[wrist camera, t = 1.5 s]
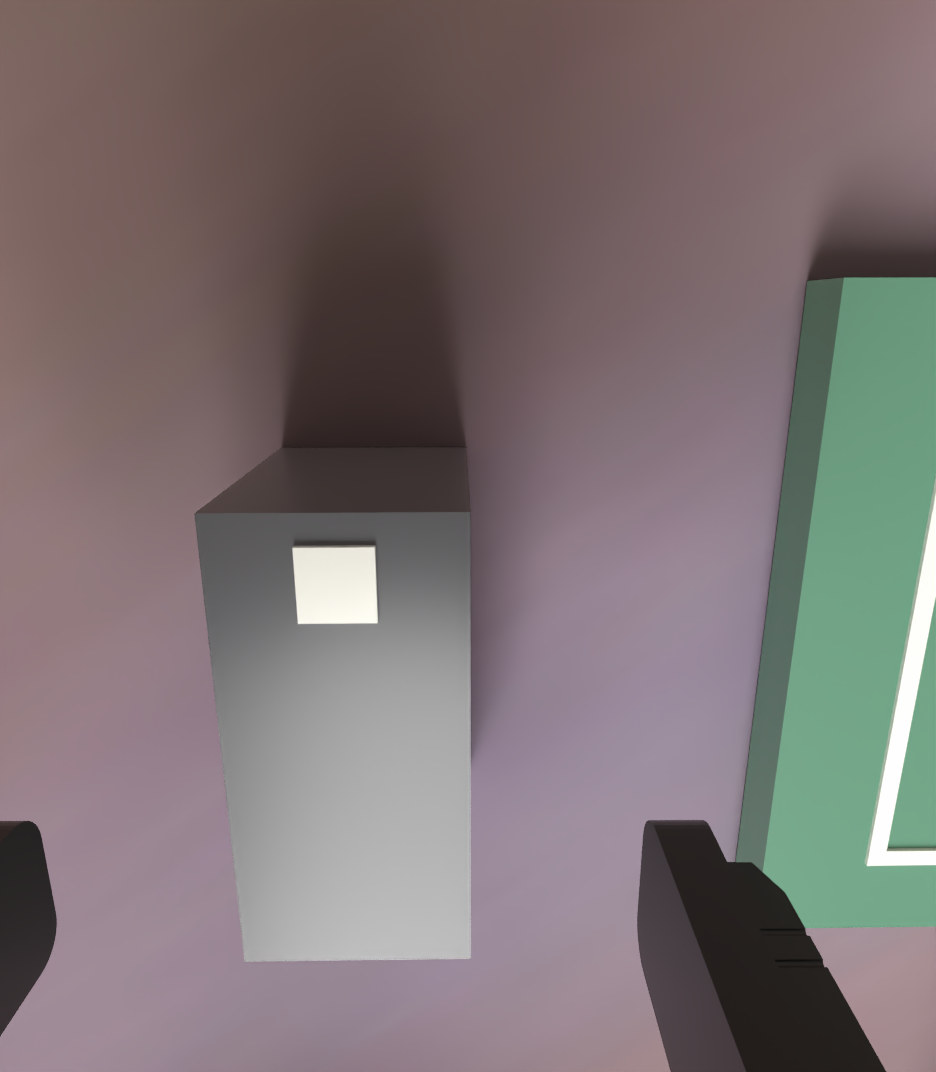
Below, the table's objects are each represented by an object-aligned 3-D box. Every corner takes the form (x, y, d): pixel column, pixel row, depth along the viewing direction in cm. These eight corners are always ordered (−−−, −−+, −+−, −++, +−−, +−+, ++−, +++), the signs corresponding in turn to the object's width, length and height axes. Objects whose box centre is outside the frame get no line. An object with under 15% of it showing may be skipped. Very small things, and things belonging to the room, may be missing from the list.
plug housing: (281, 447, 16) (192, 515, 11) (466, 447, 16) (470, 513, 11) (305, 775, 18) (243, 966, 13) (466, 773, 18) (470, 963, 13)
